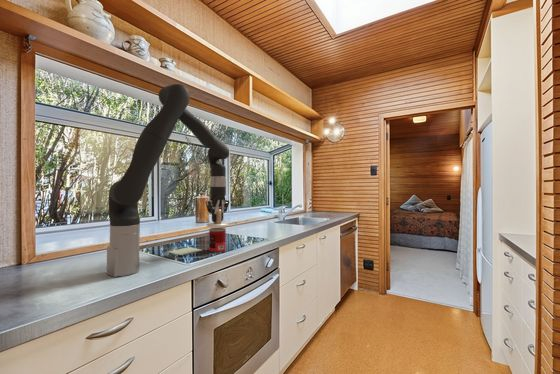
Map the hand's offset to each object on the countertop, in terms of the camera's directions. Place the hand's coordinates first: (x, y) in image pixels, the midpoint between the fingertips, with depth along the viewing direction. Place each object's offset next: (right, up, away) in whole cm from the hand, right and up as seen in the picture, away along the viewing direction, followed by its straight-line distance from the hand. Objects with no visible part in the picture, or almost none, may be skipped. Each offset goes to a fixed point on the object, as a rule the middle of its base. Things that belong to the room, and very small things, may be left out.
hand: (217, 221), depth 124 cm
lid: (0, -2, 0) cm, 2 cm away
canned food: (0, -15, 0) cm, 15 cm away
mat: (-15, -14, -2) cm, 21 cm away
